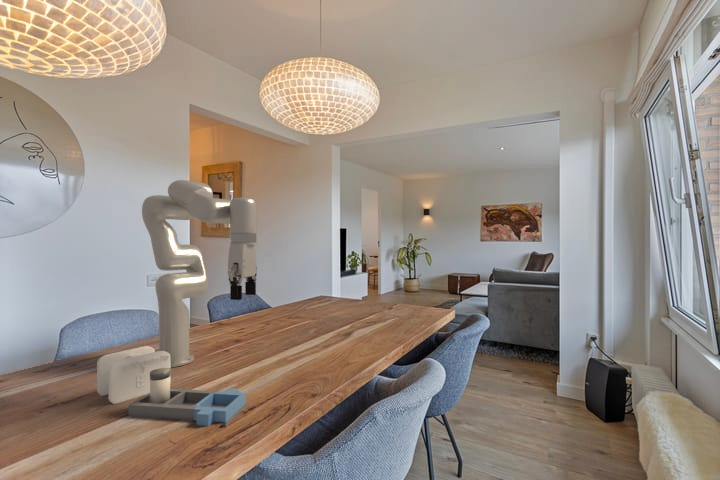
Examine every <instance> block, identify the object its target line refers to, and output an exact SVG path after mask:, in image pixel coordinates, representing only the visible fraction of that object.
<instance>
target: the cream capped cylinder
mask: <svg viewBox="0 0 720 480" xmlns="http://www.w3.org/2000/svg"><path fill="white" fill-rule="evenodd" d="M170 369H171V367H170V368H159V369H155V370H152V371H151V372H150V403H156V404H164V403H165V402H167V401H169V400H170V389H171V382H170Z"/></svg>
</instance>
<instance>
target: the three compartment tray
mask: <svg viewBox="0 0 720 480" xmlns="http://www.w3.org/2000/svg"><path fill="white" fill-rule="evenodd" d="M245 408H247V392H240V389H239V388H227V389H226V390H224V391H222V390H221V391H220V390H202V389H201V390H199V389H182V388H170V400H169V401H167V402H165V403H164V404H156V403H150V393H148V394H145V395H142V396H140V398H138V399H136V400H134V401H132V402H131V403H129V404H128V416H130V417H131V416H132V417H145V418H157V419H169V420H170V419H173V420H174V419H175V420H187V421H196V426H204V427H209V426H210V425H212V424H213V423H214V422H215V423H221V424H220V425H219V426H220V427H227V426H228V425H229V424H230V423H231V422H233V420H234V419H236V417H237V416H238V415H239V414H240V413H241V412H242V411H244V409H245Z"/></svg>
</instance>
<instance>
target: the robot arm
mask: <svg viewBox="0 0 720 480" xmlns="http://www.w3.org/2000/svg"><path fill="white" fill-rule="evenodd" d="M167 194H168V195H161V194H155V195H149V196H148V197H146V198H145V199H144V200H143V203H142V206H141V216H142V221H143V223H144V226H145V227H146V230H147V232H148V235H149V238H150V243H151V248H152V253H153V256H154V262H155V265H156V267H157V268H158V269H159V270H160V271H164V272H165V271H167V272H168V271H169V272H170V271H171V273H165V274H162V275H160V276H159V277H158V278H157V280H156V282H155V288H154V289H155V293H156V297H157V304H158V306H157V307H158V348H157V349H156V348H155V349H154V350H155V352H158V351H165V352H168V353H169V354H170V368H177V367H181V366H184V365H188V364H190V363H193V361H194V360H195V356H194V355H193V354H191V353H190V311H189V310H190V309H189V308H188V307H187V305H186V304H185V302H184V301H183V300H184V299H190V298H198V297H201V296H204V295H205V294H206V293H207V292H208V289H209V279H208V274H207V271H206V266H205V265H206V264H205V261H204V256H203V253H202V251H201V249H200V248H199V247H198V246H196V245H194V244H181V243H180V242H179V239H178V234H177V232H176V230H175V229H174V228H173V226H172V225H171V224H170V222H167V221H166V220H174V221H175V220H177V221H178V220H179V221H190V220H193V219H196V220H199V221H200V222H203V223H207V224H225V225H226V224H227V225H229V248H228V257H227V277H228V282H229V286H230V297H229V298H230V300H231V301H240V300H241V301H242V299H243V285H241V284H242V281H243V279H245V284H244V285H245V288H244V292H245V296H246V295H247V296H249V295H250V296H252V295H253V296H255V295H256V294H257V272H258V271H257V270H258V267H257V253H256V245H257V202H256V201H255V199H253V198H249V197H235V198H232V199H226V198H217V197H214V193H213V189H212V188H211V187H210V185H209V184H207V183H205V182H198V181H192V180H187V179H176V180H175V181H174V180H173V182H171V183H170V184H169V186H168V187H167ZM183 270H184V272H173V273H172V271H183Z"/></svg>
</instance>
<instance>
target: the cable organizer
mask: <svg viewBox="0 0 720 480" xmlns="http://www.w3.org/2000/svg"><path fill="white" fill-rule="evenodd" d="M159 368H170V383H171V382H172V381H171V372H172V371H171V367H170V354H169V353H168V352H165V351H158V352H155V350H154V348H153V347H151V346H149V345H144V346H140V347H135V348H132V349H127V350H126V349H125V350H121V351H117V352H113V353H107V354H104V355H102V356H101V357H99V359H97V362H96V392H97V394H98V395H99V396H101V397H104V396H107V395H108V397H107V398H108V401H109V402H110V403H112V404H113V405H115V404H120V403H122V402H126V401H128V400H129V401H130V400H131V399H135V398H139V397H143V396H145V395H147V394H148V393H150V372H151V371H152V370H155V369H159Z"/></svg>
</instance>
